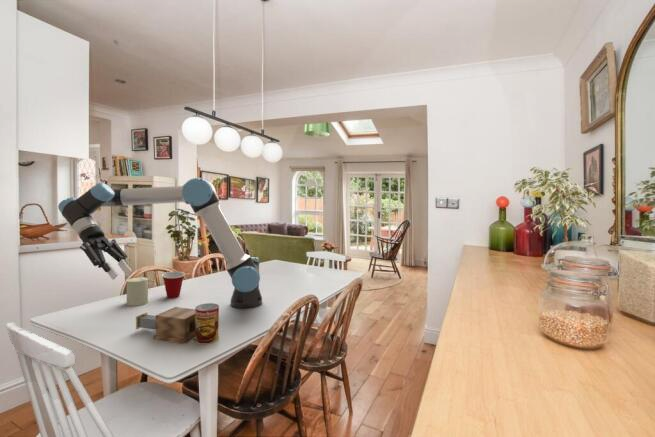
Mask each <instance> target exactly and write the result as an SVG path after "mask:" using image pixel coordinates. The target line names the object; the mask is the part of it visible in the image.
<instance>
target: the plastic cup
mask: <svg viewBox="0 0 655 437" xmlns="http://www.w3.org/2000/svg"><path fill="white" fill-rule="evenodd" d="M185 275H186V274H185V272H183V271H169V272H168V271H167V272H164V273H162V274H161V277H162V280H163V284H164V289H165V293H166V297H167V298H168V299H175V298H178V297H180V295H181V290H182V285H183V280H184V278H185Z"/></svg>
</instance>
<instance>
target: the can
mask: <svg viewBox="0 0 655 437" xmlns="http://www.w3.org/2000/svg"><path fill="white" fill-rule="evenodd" d="M125 281H126V302H125V303H126V306H129V307H138V306H143V305H146V304H148V303H149V277H132V278H128V279H126V280H125Z"/></svg>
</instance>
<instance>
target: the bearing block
mask: <svg viewBox="0 0 655 437" xmlns="http://www.w3.org/2000/svg"><path fill="white" fill-rule="evenodd" d="M155 316H156V330H155V333H154V334H153V337H152V338H153V339H152V340H156V341H163V342H170V343H176V344H183V345H186V344H188V342H190V341H191V340H195V308H187V307H180V306H178V307H177V306H174V307H172V308H170V309H168V310H165V311H163V312H161V313H158V314H155ZM190 323H191V330H190V331H189V329H190Z"/></svg>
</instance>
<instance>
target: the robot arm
mask: <svg viewBox="0 0 655 437" xmlns="http://www.w3.org/2000/svg"><path fill="white" fill-rule="evenodd" d="M175 203H176V204H177V203H184V204H186V205H189V206H190V207H191V209H192V211H193V212H194V214H195V215H197V216H200V217H201V220H202V221H203V223H204V225H205V227H206V228H207V230H208V232H209V234H210V235H211V237H212V239H213V241H214V242H215V244H216V246H217V248H218V250H219V251H220V253H221V255H222V257H223V259H224V261H225V262H226V267H225V269H226V271H227V273H228V275H229V277H230V278H231V283H232V286H233V287H234V289H233V292H232V295H231V298H230V306H231V307H233V308H237V309H251V308H256V307H259V306H261V305H262V304H263V297H262V293H261V291H260V281H261V274H260V258H259V257H254V256H253V257H251V255H249V254H247V253H245V251H244V249H243V247H242V246H241V244H240V242H239V240H238V238H237V236H236V235H235V234H234V232H233V229H232V228H231V225H230V224H229V222H228V220H227V219H226V217H225V215H224V213H223V211H222V210H221V208H220V205H221V200H220V198H219V196H218V194H217V190H216V187H215V186H214V184H213V183H212V182H210V181H208V180H207V179H206V178H202V177H194V178H190V179H189V180H187V181H186V182H185V183H184V184H183V185H175V186H173V185H172V186H153V187H151V186H150V187H135V188H111V187H110V186H109V185H108V184H106V183H104V182H98V183H97V184H95V185H93V186H92V187H90V188H89V189H88V190H87V191H86V192H84V193H83V194H82V195H80V196H79V197H78V198H77V197H68V198H66V199H62V201H60V202H59V203H58V205H57V209H58V210H59V212H60V213H61V216H62V217H63V218H64V219H65V220H66V222H67V223H68V224H69V225H70V227H71V228H72V229H73V231H74V232H75V233H76V235H77V236H78V238H79V239H80V241H82V243H81V245H80V246H79V249H81V250H82V251H83V252H84V253H85V255H86V257H87V258H88V259H89V261H90V262H91V263H92V265H93V266H94V267H97V268H99V269H102V270H103V271H104V272H105V273H107V274H108V276H109V278H110V279H111V280H113V281H114V280H115V279H116V278H117V277H118V276H119V273H118V272H117V271H116V269H115V268H114V267H113V266H112V264H111V263H110V262H109V261H107V260H106V258H105V256H104V253H107V254H108V255H109V256H110V257H111V258H113V260H115V261H116V262H118V263H117V265H118V266H119V268H120V269H121V271H122V272H123V273H124V274H125V276H126V277H129V276H130V275H131V274H132V273H133V270H132V269H131V267H130V266H129V263H128V262H127V261H126V260H127V258H128V255H127V254H126V253H125V251H124V250H123V249H122V248H121V246H120V245H119V244H118V243H117V241H116V239H114V238H113V239H112V240H110V239H108V238H106V236H105V232H104V231H103V229H102V228H101V226H100V225H99V224H98V223H97V221H96V220H95V218H94V217H93V216H92V214H93V213H95V212H96V211H97V210H99V209H100V208H102V207H111V208H112V207H113V208H114V207H123V206H136V205H137V206H138V205H139V206H140V205H155V204H156V205H159V204H175ZM103 252H104V253H103ZM106 261H107V262H106Z"/></svg>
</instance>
